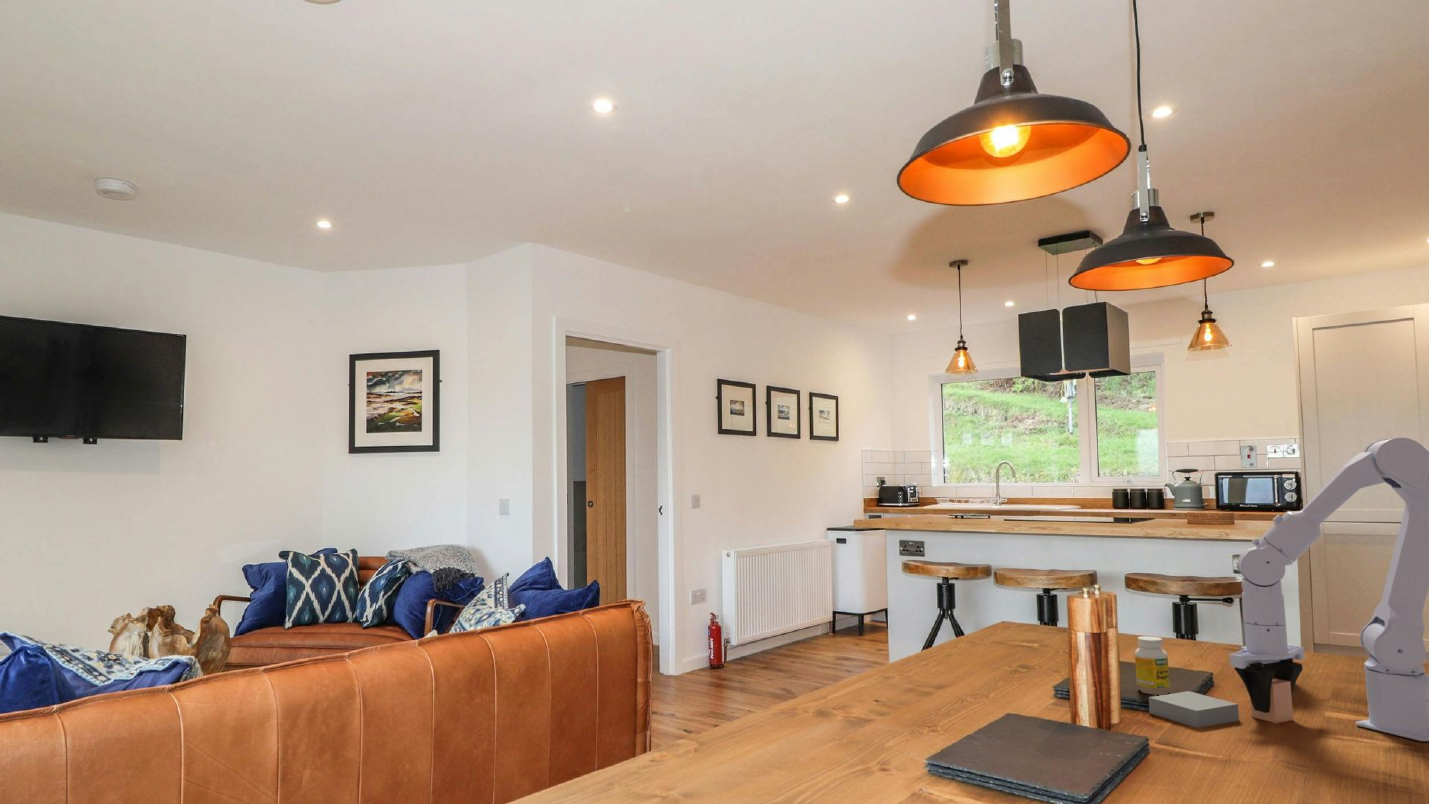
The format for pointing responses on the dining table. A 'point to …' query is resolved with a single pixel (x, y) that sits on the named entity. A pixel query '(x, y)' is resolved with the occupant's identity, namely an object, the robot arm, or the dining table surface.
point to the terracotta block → (1277, 703)
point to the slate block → (1194, 709)
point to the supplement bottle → (1151, 663)
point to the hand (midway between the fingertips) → (1271, 709)
